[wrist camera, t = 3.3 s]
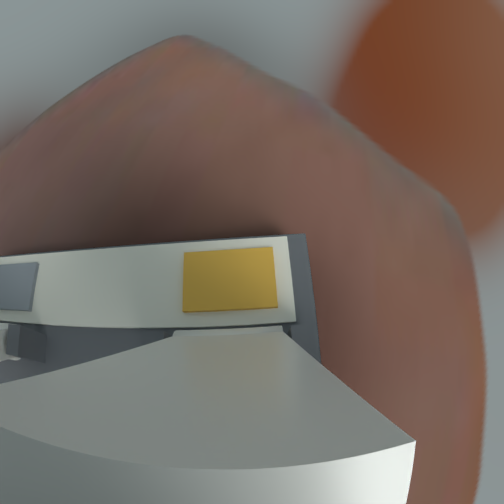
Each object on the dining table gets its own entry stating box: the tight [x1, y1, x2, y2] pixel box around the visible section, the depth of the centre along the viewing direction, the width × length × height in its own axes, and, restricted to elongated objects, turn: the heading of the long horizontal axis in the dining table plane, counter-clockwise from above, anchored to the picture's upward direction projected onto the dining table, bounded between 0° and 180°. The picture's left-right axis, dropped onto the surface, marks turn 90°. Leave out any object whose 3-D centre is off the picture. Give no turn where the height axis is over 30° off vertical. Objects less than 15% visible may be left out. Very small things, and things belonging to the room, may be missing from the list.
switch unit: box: [0, 234, 321, 384], centre depth 14 cm, size 10×22×5 cm, turn 93°
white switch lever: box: [0, 326, 416, 504], centre depth 7 cm, size 2×4×12 cm, turn 93°
